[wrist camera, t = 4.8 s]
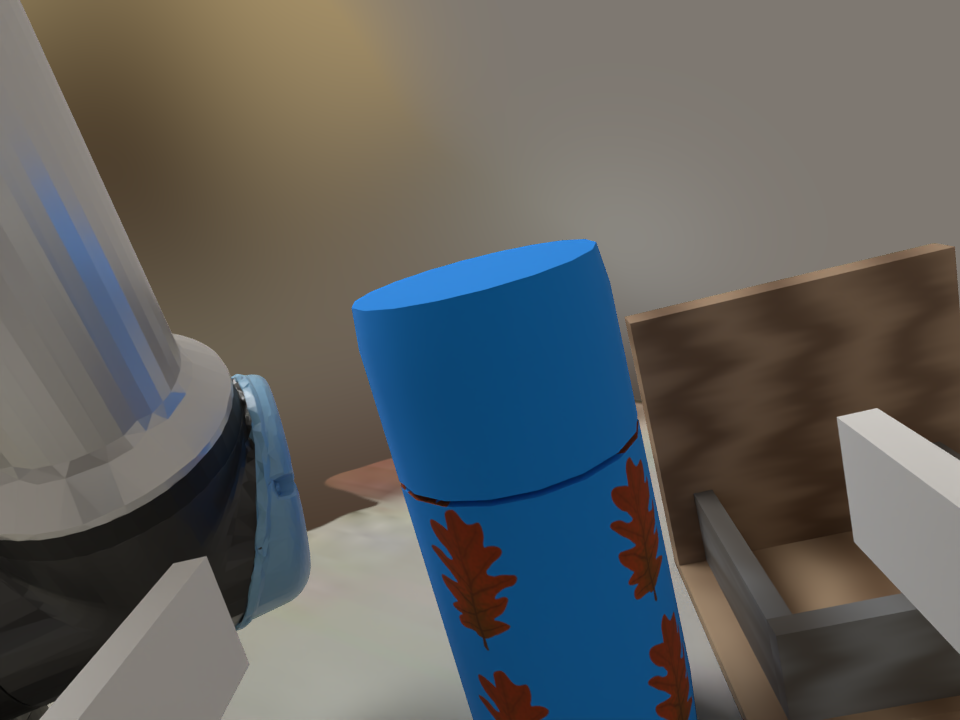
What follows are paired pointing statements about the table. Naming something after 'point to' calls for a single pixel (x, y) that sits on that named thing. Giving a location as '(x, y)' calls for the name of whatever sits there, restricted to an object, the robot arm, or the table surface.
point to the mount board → (802, 478)
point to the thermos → (529, 484)
